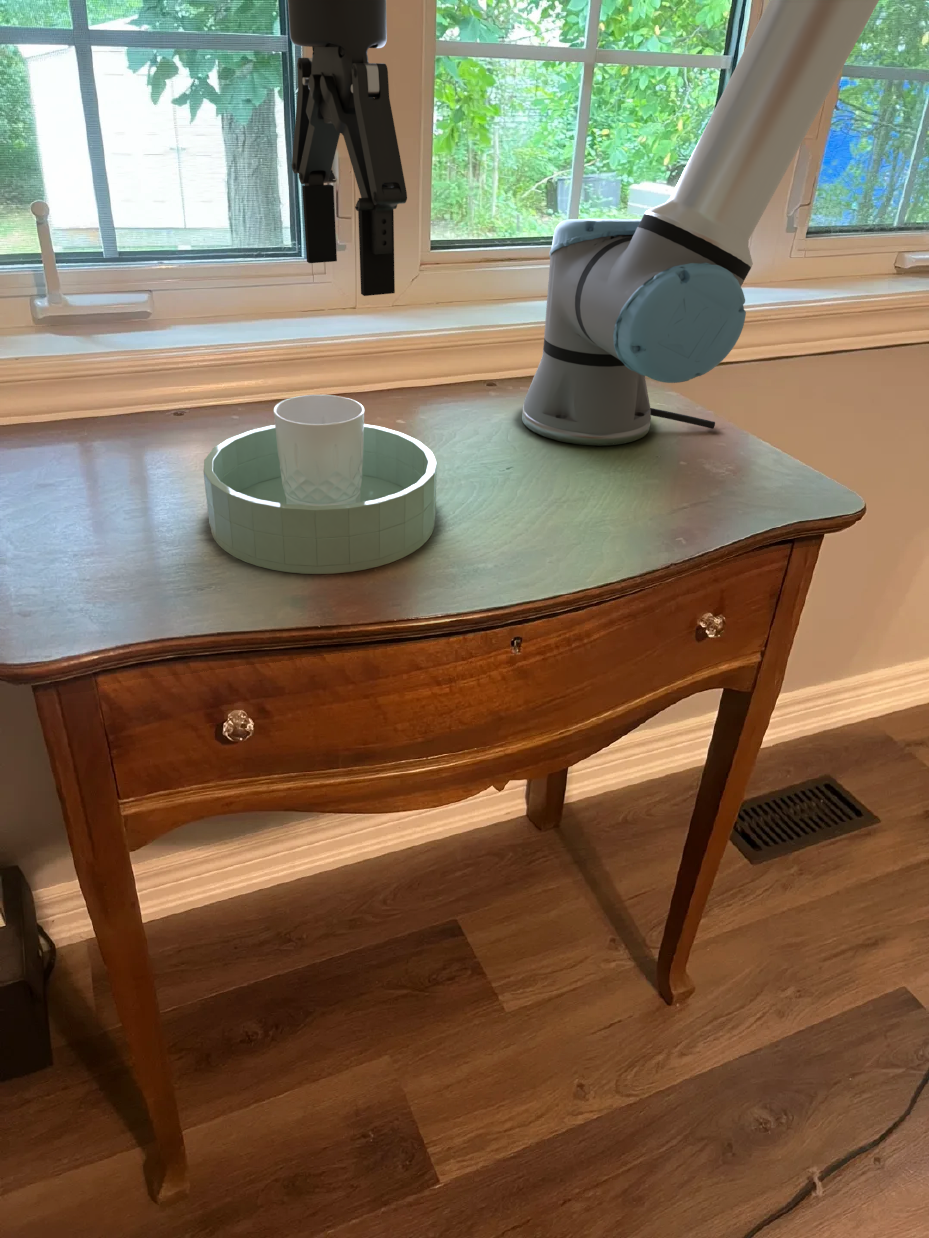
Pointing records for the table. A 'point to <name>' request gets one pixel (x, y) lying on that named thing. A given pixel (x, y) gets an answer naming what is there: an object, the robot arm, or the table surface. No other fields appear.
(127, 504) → the table surface
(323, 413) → the white cup
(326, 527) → the bowl
